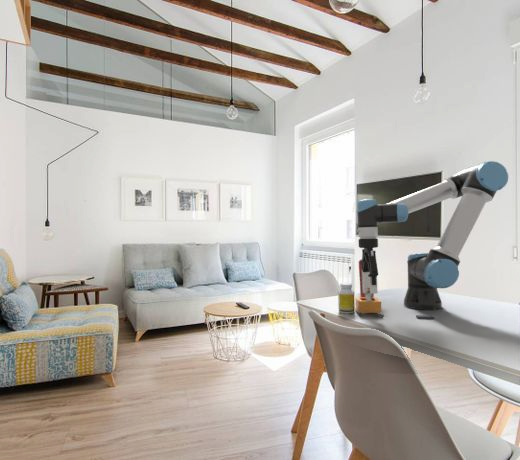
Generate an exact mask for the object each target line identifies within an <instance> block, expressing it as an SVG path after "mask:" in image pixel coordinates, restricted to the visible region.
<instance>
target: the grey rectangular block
mask: <svg viewBox="0 0 520 460" xmlns="http://www.w3.org/2000/svg"><path fill="white" fill-rule="evenodd" d="M415 318H416V319H418V320H435V318H436V317H435V316H434V315H431V314H430V315H428V314H426V315H425V314H424V315H421V314H420V315H419V314H417V315H415Z"/></svg>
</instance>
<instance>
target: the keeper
mask: <svg viewBox="0 0 520 460" xmlns="http://www.w3.org/2000/svg"><path fill="white" fill-rule="evenodd" d="M366 301H372V294H369V293H366ZM355 310H356V311H355V312H356V313H357V315H358V314H359V315H358V316H359V317H379V318H380V317H383V318H384V317H385V315H384V314H383V312H381V313H359V312H358V311H357V309H356V307H355Z"/></svg>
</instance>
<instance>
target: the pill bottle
mask: <svg viewBox="0 0 520 460" xmlns="http://www.w3.org/2000/svg"><path fill="white" fill-rule="evenodd" d="M339 286H340V289H339V290H338V293H337V295H338V296H337V300H338V305H337V306H338V312H339V313H340V314H341V313H342V314H354V313H355V312H356V311H355V308H356V303H355V291H354V290H353V289H352V288H353V284H352V283H350V282H343V283H342V282H341V283H340V285H339Z"/></svg>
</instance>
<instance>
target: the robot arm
mask: <svg viewBox="0 0 520 460" xmlns="http://www.w3.org/2000/svg"><path fill="white" fill-rule="evenodd" d="M508 181H509V173H508V171H507V168H506V167H505V166H504V165H503V164H502V163H500V162H498V161H492V160H490V161H484V162H481V163H479V164H477V165H476V164H475V165H473V166H470V167H467V168H465V169H463V170H461V171H459V172H457V173H455V174H453V175H451V176H449V177H446V178H444V179H443V181H442V182H439V183H437V184H435V185H432V186H429V187H427V188H424V189H420V190H419V191H417V192H414V193H411V194H408V195H406V196H403V197H400V198H398V199H395V200H392V201H390V202H387V203H383V204H379V203H377V200H376V199H374V198H372V199H360V200H359V201H357V209H356V213H357V214H356V215H357V230H356V233H358V234H357V235H358V248H360V249H362V250H361V251H362V252H361V253H362V254H361V259H362V268H361V269H362V271H363V288H370V294H374V295H375V294H379V293H378V292H379V291H378V276H379V269H378V263H377V256H376V255H377V254H376V250H374V248H375V249H376V248H378V247H379V239H378V238H377V237H378V236H379V233H378V232H379V230H378V224H388V223H402V222H403V223H404V222H406V221H407V220H408V217H409V214H411V213H414V212H416V211H420V210H422V209H425V208H427V207H430V206H432V205H435V204H437V203H440V202H443V201H445V200H448V199H452V200H454V199H457V198H460V197H461V198H460V200H459V202H458V204H457V206H456V207H455V210H454V212H453V213H452V215H451V218H450V219H449V222H448V223H447V226H446V227H445V230H444V231H443V233H442V236H441V237H440V239H439V241H438V243H437V244H436V247H433V248H430V250H429V252H425V253H424V252H422V253H419V252H418V253H410V254H408V256H407V289H406V293H405V295H404V296H405V297H404V298H403V306H405V307H408V308H411V309H416V310H417V309H418V310H426V311H427V310H441V309H442V307H443V305H442V304H443V302H442V300H441V296H440V293H439V291H438V289H447V288H450V287H452V286H453V285H455V283H456V282H457V281H458V279H459V276H460V270H459V266H460V263H461V260H460V258H459V256H460V254H461V252H462V249H463V248H464V246H465V244H466V242H467V241H468V238H469V236H470V235H471V233H472V231H473V229H474V226H475V225H476V222H477V221H478V219H479V217H480V214H481V213H482V211H483V209H484V207H485V205H486V204H487V203H489V202H491V201H492V200H493V199H494V197H495V195H496V193H497V192H498V191H500V190H503V188H505V187H506V186H507V184H508Z"/></svg>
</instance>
